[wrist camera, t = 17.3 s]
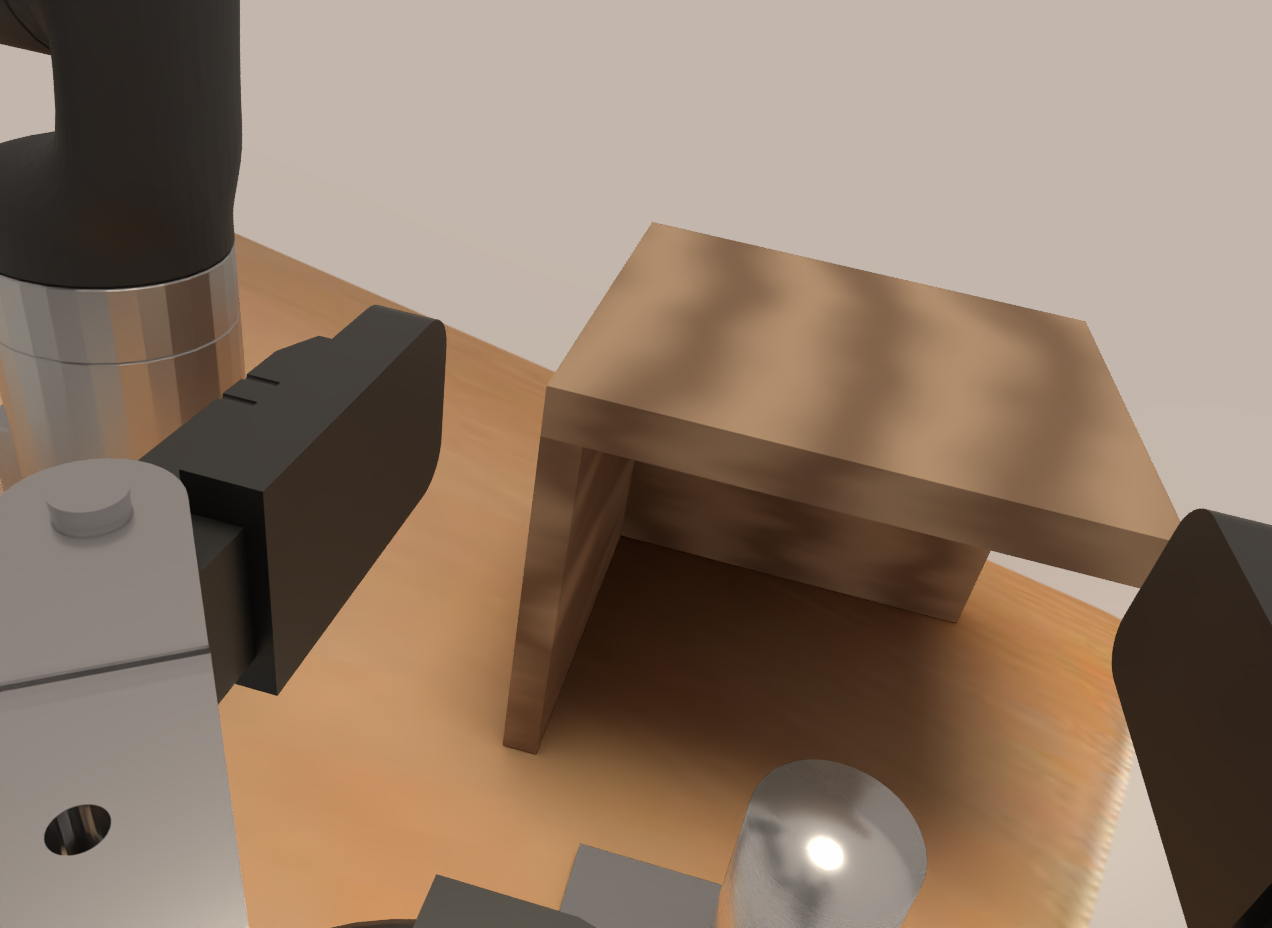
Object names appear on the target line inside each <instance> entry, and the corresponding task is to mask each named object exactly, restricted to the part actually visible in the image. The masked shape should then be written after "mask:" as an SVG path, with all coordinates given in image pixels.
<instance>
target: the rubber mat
mask: <svg viewBox="0 0 1272 928" xmlns="http://www.w3.org/2000/svg"><path fill="white" fill-rule="evenodd" d="M721 888H722V885H720V884H717V883H714V882H710V881H707V880H703V879H700V878H697V877H693V876H690V875H686V874H683V873H679V872H676V871H673V870H669V869H666V868H662V867H659V866H656V865H652V864H649V863H645V862H642V861H639V860H635V859H632V858H628V857H625V856H621V855H618V854H615V853H611V852H608V851H604V850H601V849H598V848H594V847H591V846H587V845H584V844H581V843H580V846H579V849H578V852H577V856H576V859H575V862H574V865H573V869H572V872H571V875H570V879H569V882H568V885H567V888H566V892H565V895H564V898H563V901H562V905H561V908H560V912H564V913H567V914H570V915H574V916H577V917H579V918H581V919H583V920H584V921H586V922H588V923H589V924H591V925H593V926H594V927H596V928H708V927H709V924H710V921H711V918H712V915H713V912H714V909H715V906H716V903H717V900H718V897H719V894H720V891H721Z"/></svg>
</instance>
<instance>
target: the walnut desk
mask: <svg viewBox="0 0 1272 928" xmlns="http://www.w3.org/2000/svg"><path fill="white" fill-rule="evenodd" d="M1179 523H1180V520H1179V518H1178V515H1177V514H1176V511H1175V509H1174V507H1173V505H1172V503H1171V501H1170V499H1169V496H1168V494H1167V492H1166V490H1165V488H1164V486H1163V484H1162V482H1161V480H1160V478H1159V475H1158V474H1157V471H1156V469H1155V467H1154V465H1153V463H1152V461H1151V459H1150V457H1149V454H1148V452H1147V450H1146V448H1145V446H1144V444H1143V442H1142V440H1141V437H1140V436H1139V433H1138V431H1137V429H1136V427H1135V425H1134V423H1133V421H1132V419H1131V416H1130V414H1129V412H1128V411H1127V408H1126V406H1125V404H1124V402H1123V400H1122V398H1121V395H1120V393H1119V391H1118V389H1117V387H1116V385H1115V383H1114V381H1113V379H1112V376H1111V374H1110V372H1109V370H1108V368H1107V366H1106V364H1105V362H1104V359H1103V358H1102V355H1101V353H1100V351H1099V349H1098V347H1097V345H1096V343H1095V341H1094V338H1093V337H1092V334H1091V332H1090V330H1089V328H1088V326H1087V324H1086V322H1085V321H1081V320H1077V319H1073V318H1068V317H1064V316H1059V315H1055V314H1051V313H1046V312H1042V311H1038V310H1033V309H1029V308H1024V307H1020V306H1016V305H1012V304H1007V303H1003V302H998V301H994V300H989V299H985V298H981V297H976V296H972V295H968V294H964V293H959V292H955V291H951V290H946V289H942V288H937V287H933V286H928V285H924V284H920V283H916V282H911V281H907V280H902V279H898V278H894V277H889V276H885V275H881V274H876V273H872V272H868V271H863V270H859V269H854V268H850V267H846V266H841V265H837V264H833V263H828V262H824V261H820V260H815V259H811V258H807V257H802V256H798V255H794V254H789V253H785V252H780V251H776V250H772V249H767V248H763V247H759V246H754V245H749V244H746V243H741V242H736V241H732V240H728V239H724V238H720V237H715V236H710V235H706V234H702V233H698V232H693V231H689V230H685V229H680V228H676V227H672V226H667V225H663V224H659V223H654V222H652V223H651V225H650V227H649V228H648V230H647V231H646V233H645V234H644V236H643V238H642V239H641V241H640V242H639V244H638V245H637V247H636V248H635V250H634V251H633V253H632V255H631V256H630V258H629V259H628V261H627V262H626V264H625V265H624V267H623V268H622V270H621V271H620V273H619V275H618V276H617V278H616V279H615V281H614V282H613V284H612V285H611V287H610V289H609V290H608V292H607V293H606V295H605V296H604V298H603V299H602V301H601V302H600V304H599V306H598V307H597V309H596V310H595V312H594V313H593V315H592V316H591V318H590V319H589V321H588V323H587V324H586V326H585V327H584V329H583V330H582V332H581V334H580V335H579V337H578V338H577V340H576V341H575V343H574V344H573V346H572V347H571V349H570V350H569V352H568V354H567V355H566V357H565V358H564V360H563V361H562V363H561V364H560V366H559V368H558V369H557V371H556V372H555V374H554V375H553V377H552V378H551V380H550V381H549V383H548V385H547V388H546V396H545V404H544V412H543V420H542V429H541V437H540V445H539V453H538V461H537V470H536V478H535V486H534V494H533V502H532V510H531V519H530V527H529V535H528V543H527V551H526V560H525V568H524V576H523V584H522V592H521V600H520V609H519V617H518V625H517V633H516V641H515V650H514V658H513V666H512V674H511V682H510V691H509V699H508V707H507V715H506V723H505V731H504V740H503V745H505V746H508V747H512V748H515V749H519V750H522V751H526V752H529V753H533V754H536V753H537V750H538V747H539V745H540V742H541V740H542V737H543V734H544V732H545V729H546V727H547V724H548V722H549V719H550V716H551V714H552V711H553V709H554V706H555V703H556V701H557V698H558V696H559V693H560V691H561V688H562V685H563V683H564V680H565V678H566V675H567V672H568V670H569V667H570V665H571V662H572V659H573V657H574V654H575V652H576V649H577V647H578V644H579V641H580V639H581V636H582V634H583V631H584V628H585V626H586V623H587V621H588V618H589V616H590V613H591V610H592V608H593V605H594V603H595V600H596V597H597V595H598V592H599V590H600V587H601V584H602V582H603V579H604V577H605V574H606V572H607V569H608V566H609V564H610V561H611V559H612V556H613V553H614V551H615V548H616V546H617V543H618V541H619V538H620V535H621V536H625V537H629V538H633V539H637V540H640V541H644V542H648V543H652V544H656V545H660V546H663V547H667V548H671V549H675V550H679V551H683V552H686V553H690V554H694V555H698V556H702V557H705V558H709V559H713V560H717V561H721V562H725V563H728V564H732V565H736V566H740V567H744V568H748V569H751V570H755V571H759V572H763V573H767V574H771V575H774V576H778V577H782V578H786V579H790V580H794V581H797V582H801V583H805V584H809V585H813V586H816V587H820V588H824V589H828V590H832V591H836V592H839V593H843V594H847V595H851V596H855V597H859V598H862V599H866V600H870V601H874V602H878V603H882V604H885V605H889V606H893V607H897V608H901V609H904V610H908V611H912V612H916V613H920V614H924V615H927V616H931V617H935V618H939V619H943V620H947V621H950V622H954V623H957V621H958V619H959V617H960V615H961V613H962V611H963V609H964V606H965V604H966V602H967V600H968V598H969V596H970V594H971V591H972V589H973V587H974V585H975V583H976V581H977V579H978V576H979V574H980V572H981V570H982V568H983V566H984V564H985V561H986V559H987V557H988V555H989V553H990V551H995V552H999V553H1003V554H1007V555H1011V556H1015V557H1019V558H1023V559H1027V560H1031V561H1035V562H1039V563H1043V564H1046V565H1050V566H1054V567H1058V568H1063V569H1066V570H1070V571H1074V572H1078V573H1082V574H1086V575H1090V576H1094V577H1098V578H1102V579H1106V580H1109V581H1114V582H1117V583H1121V584H1125V585H1129V586H1133V587H1137V588H1141V587H1142V585H1143V583H1144V582H1145V580H1146V578H1147V577H1148V575H1149V573H1150V572H1151V570H1152V568H1153V567H1154V565H1155V563H1156V561H1157V560H1158V558H1159V556H1160V555H1161V553H1162V551H1163V550H1164V548H1165V546H1166V545H1167V543H1168V541H1169V540H1170V538H1171V536H1172V535H1173V533H1174V531H1175V530H1176V528H1177V526H1178V525H1179Z"/></svg>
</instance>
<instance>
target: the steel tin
mask: <svg viewBox="0 0 1272 928" xmlns="http://www.w3.org/2000/svg"><path fill="white" fill-rule="evenodd" d="M926 868H927V854H926V847H925V843H924V840H923V836H922V834H921V831H920V829H919V827H918V824H917V823H916V821H915V819H914V817H913V816H912V814H911V813H910V811H909V810H908V809H907V807H906V806H905V805H904V804H903V802H902V801H901V800H900V799H899V798H898V797H897V796H896V795H895V794H894V793H893V792H892V791H891V790H890V789H888V788H887V787H886V786H885V785H883V784H882V783H881V782H879V781H878V780H876V779H875V778H873V777H872V776H870V775H868V774H866V773H864V772H862V771H860V770H858V769H856V768H853V767H851V766H848V765H845V764H842V763H838V762H834V761H828V760H819V759H806V760H799V761H794V762H790V763H786V764H784V765H782V766H779V767H777V768H776V769H774V770H773V771H771V772H770V773H768V774H767V775H766V776H765V777H764V778H763V779H762V780H761V781H760V783H759V784H758V785H757V787H756V788H755V790H754V792H753V794H752V797H751V800H750V803H749V806H748V809H747V812H746V815H745V818H744V821H743V824H742V827H741V830H740V833H739V836H738V839H737V842H736V845H735V848H734V851H733V854H732V857H731V860H730V863H729V866H728V869H727V872H726V875H725V878H724V881H723V884H722V888H721V891H720V894H719V897H718V900H717V903H716V906H715V909H714V912H713V915H712V918H711V921H710V924H709V927H708V928H900V926H901V924H902V922H903V920H904V919H905V917H906V915H907V913H908V911H909V909H910V907H911V905H912V903H913V902H914V900H915V898H916V896H917V894H918V892H919V890H920V888H921V886H922V884H923V881H924V878H925V874H926Z"/></svg>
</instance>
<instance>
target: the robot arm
mask: <svg viewBox="0 0 1272 928" xmlns="http://www.w3.org/2000/svg"><path fill="white" fill-rule="evenodd" d="M0 44H4V45H8V46H12V47H17V48H21V49H26V50H30V51H35V52H39V53H43V54H48V55H51V58H52V68H53V80H54V95H55V132H49V133H43V134H37V135H31V136H26V137H22V138H18V139H14V140H10V141H7V142H3V143H0V393H1V397H2V401H3V405H1V406H0V478H1V482H2V486H3V490H4V492H3V493H2V494H1V496H0V928H249V926H248V919H247V912H246V904H245V897H244V890H243V883H242V875H241V868H240V861H239V854H238V847H237V839H236V832H235V825H234V818H233V811H232V803H231V796H230V789H229V782H228V775H227V767H226V760H225V753H224V746H223V739H222V731H221V724H220V717H219V710H218V704H219V703H220V701H221V700H222V699H223V698H224V696H225V695H226V694H227V693H228V691H229V690H230V689H231V688H232V686H233V685H234V684H238V685H241V686H245V687H248V688H252V689H255V690H259V691H262V692H266V693H269V694H273V695H276V696H278V694H279V693H280V692H281V690H282V689H283V687H284V686H285V685H286V683H287V682H288V681H289V679H290V678H291V676H292V675H293V674H294V672H295V671H296V670H297V668H298V667H299V666H300V664H301V663H302V661H303V660H304V659H305V657H306V656H307V655H308V653H309V652H310V650H311V649H312V648H313V646H314V645H315V644H316V642H317V641H318V640H319V638H320V637H321V635H322V634H323V633H324V631H325V630H326V629H327V627H328V626H329V624H330V623H331V622H332V620H333V619H334V618H335V616H336V615H337V613H338V612H339V611H340V609H341V608H342V607H343V605H344V604H345V603H346V601H347V600H348V598H349V597H350V596H351V594H352V593H353V592H354V590H355V589H356V587H357V586H358V585H359V583H360V582H361V581H362V579H363V578H364V577H365V575H366V574H367V572H368V571H369V570H370V568H371V567H372V566H373V564H374V563H375V561H376V560H377V559H378V557H379V556H380V555H381V553H382V552H383V550H384V549H385V548H386V546H387V545H388V544H389V542H390V541H391V540H392V538H393V537H394V535H395V534H396V533H397V531H398V530H399V529H400V527H401V526H402V524H403V523H404V522H405V520H406V519H407V518H408V516H409V515H410V514H411V512H412V511H413V509H414V508H415V507H416V505H417V504H418V503H419V501H420V500H421V498H422V497H423V496H424V494H425V493H426V491H427V489H428V487H429V485H430V483H431V480H432V478H433V475H434V472H435V469H436V466H437V462H438V458H439V453H440V447H441V436H442V418H443V399H444V381H445V363H446V331H445V327H444V324H443V323H442V322H441V321H440V320H437V319H433V318H429V317H425V316H420V315H416V314H412V313H408V312H404V311H400V310H396V309H392V308H388V307H384V306H379V305H373V306H371V307H369V308H368V309H367V310H365V311H364V312H363V313H362V314H361V315H360V316H358V317H357V318H356V319H355V320H354V321H352V322H351V323H350V324H349V325H348V326H347V327H345V328H344V329H343V330H342V331H341V332H340V333H338V334H337V335H336V336H335V337H334V338H332V339H330V338H326V337H322V336H317V337H314V338H311V339H308V340H306V341H303V342H300V343H297V344H294V345H292V346H289V347H286V348H283V349H280V350H278V351H276V352H274V353H273V354H272V355H270V356H269V357H268V358H267V359H265V360H264V361H263V362H262V363H260V364H259V365H258V366H257V367H255V368H254V369H253V370H251V371H250V372H249V373H248V374H247V378H245V365H244V352H243V339H242V326H241V313H240V302H239V289H238V276H237V263H236V250H235V243H234V240H235V238H234V225H233V206H234V199H235V193H236V187H237V181H238V175H239V169H240V162H241V152H242V113H241V85H240V0H0ZM1112 673H1113V678H1114V682H1115V685H1116V689H1117V692H1118V695H1119V699H1120V702H1121V706H1122V709H1123V712H1124V716H1125V719H1126V722H1127V726H1128V729H1129V732H1130V736H1131V739H1132V742H1133V746H1134V749H1135V753H1136V756H1137V759H1138V763H1139V766H1140V769H1141V772H1142V776H1143V779H1144V783H1145V786H1146V789H1147V793H1148V796H1149V799H1150V803H1151V806H1152V809H1153V813H1154V816H1155V820H1156V823H1157V826H1158V830H1159V833H1160V836H1161V840H1162V843H1163V846H1164V850H1165V853H1166V856H1167V860H1168V863H1169V866H1170V870H1171V873H1172V876H1173V880H1174V883H1175V887H1176V890H1177V893H1178V897H1179V900H1180V903H1181V907H1182V910H1183V914H1184V916H1185V920H1186V924H1187V927H1188V928H1272V525H1268V524H1264V523H1260V522H1256V521H1252V520H1248V519H1244V518H1240V517H1236V516H1232V515H1227V514H1223V513H1219V512H1215V511H1211V510H1207V509H1196V510H1194V511H1192V512H1190V513H1189V514H1188V515H1187V516H1186V517H1184V519H1183V520H1182V521H1181V522H1180V523H1179V525H1178V526H1177V528H1176V530H1175V531H1174V533H1173V535H1172V536H1171V538H1170V540H1169V541H1168V543H1167V545H1166V546H1165V548H1164V550H1163V551H1162V553H1161V555H1160V556H1159V558H1158V560H1157V561H1156V563H1155V565H1154V567H1153V568H1152V570H1151V572H1150V573H1149V575H1148V577H1147V578H1146V580H1145V582H1144V583H1143V585H1142V587H1141V588H1140V590H1139V592H1138V594H1137V595H1136V597H1135V598H1134V600H1133V602H1132V604H1131V605H1130V607H1129V609H1128V611H1127V612H1126V614H1125V615H1124V617H1123V619H1122V621H1121V623H1120V625H1119V628H1118V631H1117V634H1116V637H1115V641H1114V646H1113V652H1112ZM332 928H596V927H594V926H593V925H591V924H589V923H588V922H586V921H584V920H583V919H581V918H579V917H577V916H574V915H570V914H567V913H564V912H560V911H557V910H554V909H550V908H547V907H544V906H540V905H537V904H534V903H530V902H527V901H524V900H520V899H517V898H514V897H510V896H507V895H504V894H500V893H497V892H494V891H490V890H487V889H484V888H480V887H477V886H474V885H470V884H467V883H464V882H460V881H457V880H454V879H450V878H447V877H444V876H440V875H437V874H436V876H435V879H434V881H433V883H432V885H431V888H430V890H429V892H428V894H427V897H426V899H425V901H424V904H423V906H422V908H421V910H420V913H419V915H418V917H417V919H389V920H378V921H367V922H357V923H351V924H347V925H342V926H337V927H332Z"/></svg>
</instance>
